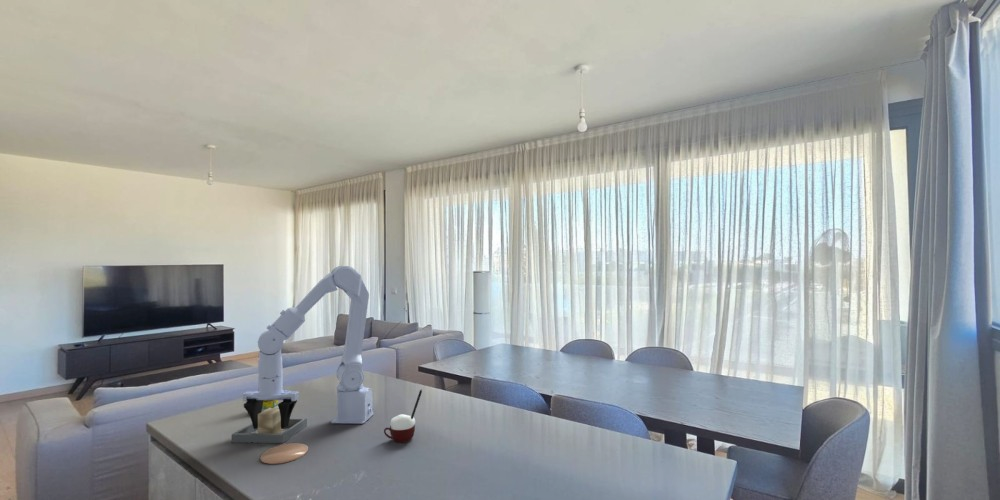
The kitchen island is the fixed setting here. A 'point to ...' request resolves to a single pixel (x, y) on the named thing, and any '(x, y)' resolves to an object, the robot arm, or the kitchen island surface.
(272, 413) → the block
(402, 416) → the cocoa
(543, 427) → the kitchen island surface
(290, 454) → the saucer
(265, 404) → the supplement bottle
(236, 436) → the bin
